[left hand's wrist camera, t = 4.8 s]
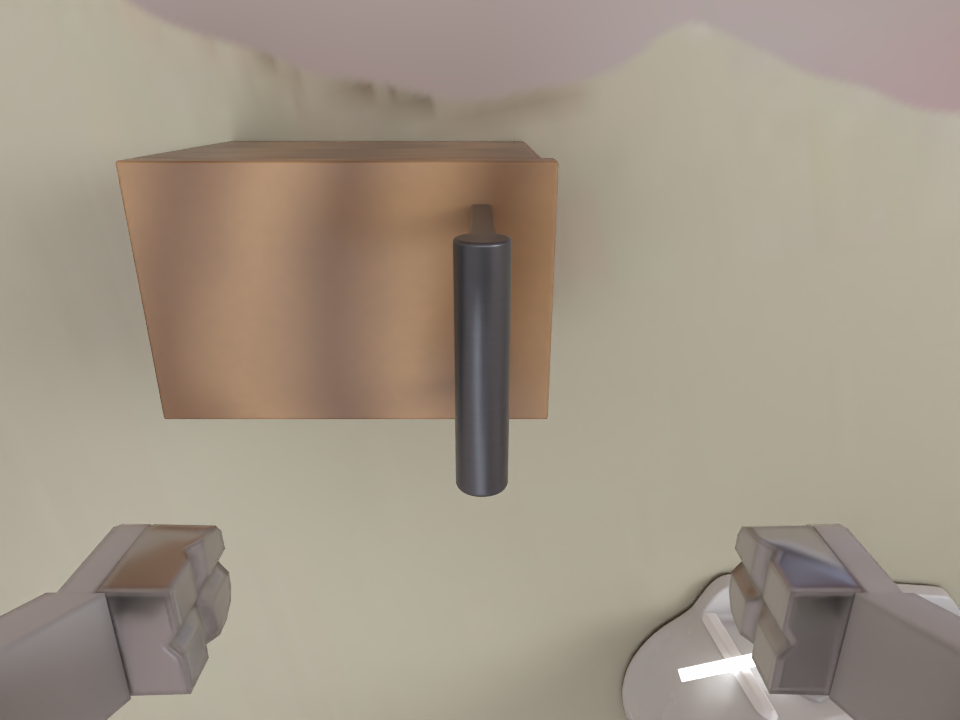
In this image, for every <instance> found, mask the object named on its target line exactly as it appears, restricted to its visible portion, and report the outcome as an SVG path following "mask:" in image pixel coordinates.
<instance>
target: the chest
mask: <svg viewBox="0 0 960 720" xmlns="http://www.w3.org/2000/svg"><path fill="white" fill-rule="evenodd" d="M137 158H540V157H539V156H538V155H537V154H536V153H535V152H534V151H533V150H532V149H531V148H530V147H529V146H528V145H527V144H526V143H524V142H514V141H230V142H224V143H218V144H212V145H206V146H201V147H195V148H189V149H183V150H177V151H172V152H166V153H160V154H154V155H148V156H142V157H137Z"/></svg>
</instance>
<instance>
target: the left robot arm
mask: <svg viewBox="0 0 960 720" xmlns="http://www.w3.org/2000/svg"><path fill="white" fill-rule="evenodd" d="M224 549H225V547H224V542H223V537H222V532H221V530H220V529H219V528H218V527H216V526H205V525H158V524H154V525H150V524H122V525H119V526H116V527H113V529H112V530H111V531H110V532H109V533H108V534H107V535H106V536H105V538H104V539H103V540H102V541H101V542H100V543H99V545H98V546H97V547H96V548H95V549H94V550H93V551H92V553H91V554H90V555H89V556H88V557H87V558H86V560H85V561H84V562H83V563H82V564H81V565H80V566H79V568H78V569H77V570H76V571H75V572H74V573H73V575H72V576H71V577H70V578H69V579H68V580H67V581H66V583H65V584H64V585H63V586H62V587H61V588H60V589H59V591H58V592H57V593H45V594H43V595H41V596H39V597H37V598H35V599H33V600H31V601H29V602H27V603H25V604H23V605H21V606H20V607H18V608H16V609H14V610H12V611H10V612H8V613H6V614H4V615H2V616H0V720H107V719H108V718H109V717H110V716H111V715H113V714H114V713H115V712H116V711H117V710H118V709H120V708H121V707H122V706H123V705H124V704H125V703H127V702H128V701H129V700H130V699H131V696H136V695H170V694H191V692H192V690H193V688H194V686H195V684H196V682H197V680H198V678H199V676H200V674H201V672H202V670H203V668H204V666H205V664H206V662H207V660H208V658H209V657H208V651H207V646H206V644H207V643H209V642H210V641H212V640H213V639H214V638H216V637H217V636H218V635H220V633H221V631H222V629H223V626H224V624H225V622H226V620H227V616H228V611H229V606H230V602H231V583H230V576H229V572H228V571H227V570H226V569H225V568H224V567H223V566H222V565H221V564H220V563H219V562H218V560H219V558H220V557H221V555H222V553H223V551H224ZM735 549H736V551H737V553H738V555H739V557H740V558H741V560H742V562H741V563H740V564H739V565H738V566H737V567H736V568H735V569H734V570H733V571H732V572H731V574H726V575H723V576H720V577H718V578H717V579H715V580H714V581H713V582H712V583H711V584H710V585H709V586H708V587H707V588H706V589H705V590H704V592H703V593H702V594H701V596H700V597H699V598H698V600H697V601H696V602H695V604H694V605H693V606H692V607H691V608H690V609H689V610H688V611H686V612H685V613H684V614H682V615H681V616H679V617H677V618H676V619H674V620H673V621H671V622H669V623H668V624H666V625H665V626H663V627H662V628H661V629H659V630H658V631H657V632H655V633H654V634H653V635H652V636H651V637H650V638H649V639H648V640H647V641H646V642H645V643H644V644H643V645H642V646H641V647H640V649H639V650H638V651H637V653H636V654H635V655H634V657H633V659H632V660H631V662H630V664H629V666H628V668H627V671H626V674H625V677H624V681H623V687H622V701H623V707H624V711H625V714H626V716H627V718H628V720H960V609H959V608H958V606H957V605H956V603H955V602H954V601H953V599H952V598H951V597H950V595H949V594H948V593H947V591H946V590H945V589H943V588H941V587H937V586H928V585H913V584H896V583H894V581H893V580H892V579H891V578H890V577H889V576H888V575H887V573H886V572H885V571H884V570H883V569H882V568H881V566H880V565H879V564H878V563H877V562H876V561H875V560H874V558H873V557H872V556H871V555H870V554H869V553H868V551H867V550H866V549H865V548H864V547H863V546H862V545H861V543H860V542H859V541H858V540H857V539H856V538H855V537H854V535H853V534H852V533H851V532H850V531H849V530H848V528H846V527H844V526H842V525H840V524H819V525H806V526H743V527H741V529H740V531H739V533H738V535H737V541H736V546H735Z"/></svg>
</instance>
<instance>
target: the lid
mask: <svg viewBox="0 0 960 720" xmlns="http://www.w3.org/2000/svg"><path fill="white" fill-rule="evenodd" d="M116 167H117V172H118V177H119V183H120V188H121V193H122V198H123V204H124V209H125V214H126V219H127V225H128V230H129V235H130V240H131V246H132V251H133V256H134V261H135V267H136V272H137V277H138V282H139V288H140V293H141V298H142V303H143V309H144V314H145V319H146V324H147V330H148V335H149V340H150V345H151V351H152V356H153V361H154V366H155V372H156V377H157V382H158V387H159V393H160V398H161V403H162V409H163V414H164V418H165V419H455V438H456V484H457V486H458V488H459V489H460V490H461V491H462V492H464V493H466V494H468V495H472V496H477V497H487V496H492V495H496V494H498V493H500V492H502V491H503V490H504V489H505V487H506V486H507V483H508V437H509V419H547V417H548V397H549V373H550V349H551V326H552V302H553V278H554V254H555V230H556V206H557V183H558V162H557V161H556V160H555V159H553V158H131V159H125V160H120V161H116Z"/></svg>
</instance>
